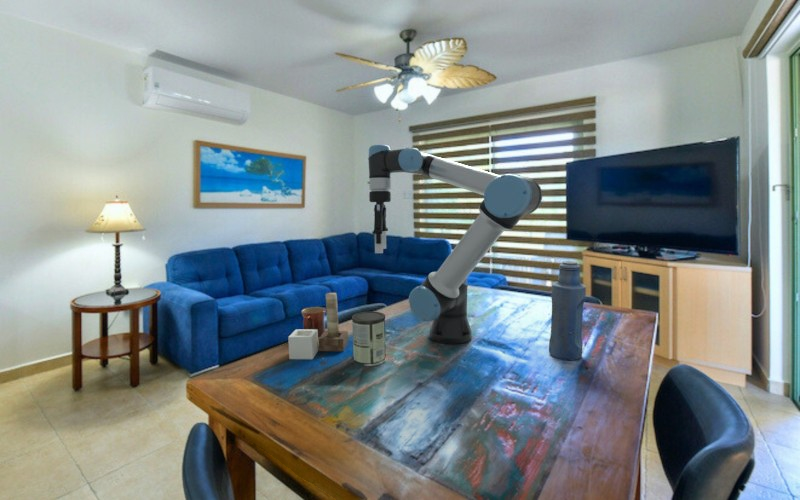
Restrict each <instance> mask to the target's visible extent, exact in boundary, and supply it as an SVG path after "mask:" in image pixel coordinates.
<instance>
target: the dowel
mask: <svg viewBox="0 0 800 500" xmlns="http://www.w3.org/2000/svg"><path fill="white" fill-rule="evenodd" d="M325 309H326V325H327V331H328V337H339V331H340V329H339V317H338V316H339V314H338V312H339V311H338V295H337V292H327V293H325Z"/></svg>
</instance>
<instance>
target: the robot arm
mask: <svg viewBox="0 0 800 500" xmlns="http://www.w3.org/2000/svg"><path fill="white" fill-rule="evenodd" d="M367 159H368V174H369V175H368V178H369V179H368V180H369V181H367V182H366V183H367V185H369V190H370V191H369V195H368V197H369V202H370V203H375V204H374V208H373V211H374V215H373V216H374V219H373V220H374V223H373V230H372V235H374V254H384V250H386V249H387V232H388V231H389V228H387V207H386V205H385V203H390V202H391V199H392V198H391V197H392V196H391V195H392V194H391V191H390V190H391V189H392V185H391V184H392V183H391V182H392V181H391V174H395V173H407V174H416V175H421V176H425V177H427V178H430V179H434V180H437V181H440V182H443V183H446V184H449V185H451V186H454V187H457V188H461V189H463V190H467V191H469V192H472V193H475V194H478V195H481V196H483V200H482V201H481V202H480V204H479V206H478V212H479V214H478V215H477V217H476V218H475V220H474V221H473V222H472V223H471V225H470V226H469V228H468V229H467V230H466V231H465V233H464V234H463V236H462V237H461V239H460V240H459V241H458V242H457V244H456V245H455V247H454V248H453V249H452V251H451V252H450V254H449V255H448V256H447V257H446V258H445V260H444V262H443V263H442V264H441V265H440V267H439V268H438V269H437V271H432V272H430V273H429V274H428V275H427V277H426V278H425V279H424V281H423V282H422V283H421V284H420V285H417V286H416V287H414V288H413V289H412V290H411V291H410V293H409V294H408V295H409V296H408V304H409V308H410V311H411V313H412V314H413V315H414V317H416V318H417V319H419V320H420V321H422V322H431V321H432V322H431V326H430V329H429V337H430V339H431V340H433V341H434V342H436V343H441V344H451V345H457V344H465V343H467V342H469V341H471V339H472V336H473V335H472V334H473V333H472V329H471V325H470V322H469V319H468V314H467V313H468V286H469V285H468V277H469V276H470V275H471V273H472V271H473V270H474V269H475V268H476V267H477V265H478V264H479V263H480V262H481V260H482V259H484V257H485V256H486V254H487V253H488V251H490V249H491V248H492V247H493V246H494V244H495V243H496V241H497V240H498V239H499V238H500V237H501V235H502V234H503V232H505V231H506V232H507V231H512V230H513V229H514V228H515V227H516V225H517V224H518V222H519V221H520V220H521V219H522V217H524V216H528V215H530V214H532V213H534V212H535V211H536V210H537V209H538V208H539V207H540V205H541V203H542V201H543V191H542V188H541V186H540V184H539V183H538V182H537V181H536V180H534V178H531V177H528V176H522V175H520V174H516V173H506V174H502V175H499V174H496V173H493V172H488V171H486V170H483V169H479V168H476V167H472V166H469V165H465V164H462V163H459V162H455V161H452V160H449V159H445V158H442V157H438V156H435V155H433V154H430V153H426V152H425V153H424V152H421V151H419V149H418V148H416V147H406V148H400V149H393V150H391V147H390V146H389V145H387V144H374V145H373V144H372V145H371V146H369V148H368V157H367Z"/></svg>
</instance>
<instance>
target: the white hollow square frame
mask: <svg viewBox="0 0 800 500" xmlns="http://www.w3.org/2000/svg"><path fill="white" fill-rule="evenodd" d="M287 338H288V339H287V340H288V358H289V360H314V357H315V356H316V355H317V353H318V352H319V337H318V330H316V329H304V328H303V329H300V328H299V329H297V328H296V329H295V330H293V332H291V333H290V335H289V336H287Z"/></svg>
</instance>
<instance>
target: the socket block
mask: <svg viewBox="0 0 800 500" xmlns="http://www.w3.org/2000/svg"><path fill="white" fill-rule="evenodd" d="M348 343H349V331H347V330H342V331H341V330H339V337H328V330H325V331H324V333H323V334H322V335H321V337H318V352H345V349H346V347H347V345H348Z"/></svg>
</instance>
